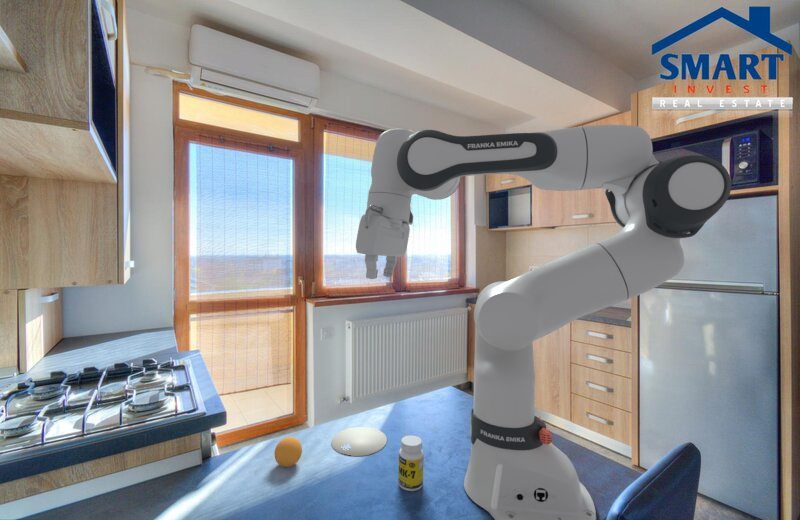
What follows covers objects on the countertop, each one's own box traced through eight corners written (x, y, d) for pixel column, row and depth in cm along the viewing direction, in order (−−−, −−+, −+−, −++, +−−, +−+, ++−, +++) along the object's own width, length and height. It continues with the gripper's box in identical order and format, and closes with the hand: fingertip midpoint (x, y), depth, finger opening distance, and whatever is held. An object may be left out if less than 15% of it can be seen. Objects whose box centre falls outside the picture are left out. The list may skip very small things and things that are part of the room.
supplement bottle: (393, 487, 66) (394, 442, 66) (405, 473, 70) (405, 431, 70) (416, 495, 64) (417, 449, 64) (427, 481, 68) (427, 437, 68)
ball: (306, 459, 74) (307, 434, 74) (292, 474, 69) (293, 447, 69) (284, 455, 76) (284, 430, 76) (268, 470, 70) (269, 443, 70)
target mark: (393, 431, 87) (393, 430, 87) (376, 460, 75) (376, 459, 75) (345, 424, 90) (345, 424, 90) (321, 451, 78) (321, 450, 78)
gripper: (384, 203, 60) (375, 282, 61) (415, 218, 80) (408, 277, 80) (352, 201, 62) (343, 277, 63) (389, 215, 82) (383, 274, 82)
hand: (380, 277), depth 72 cm, fingers open, 8 cm apart
